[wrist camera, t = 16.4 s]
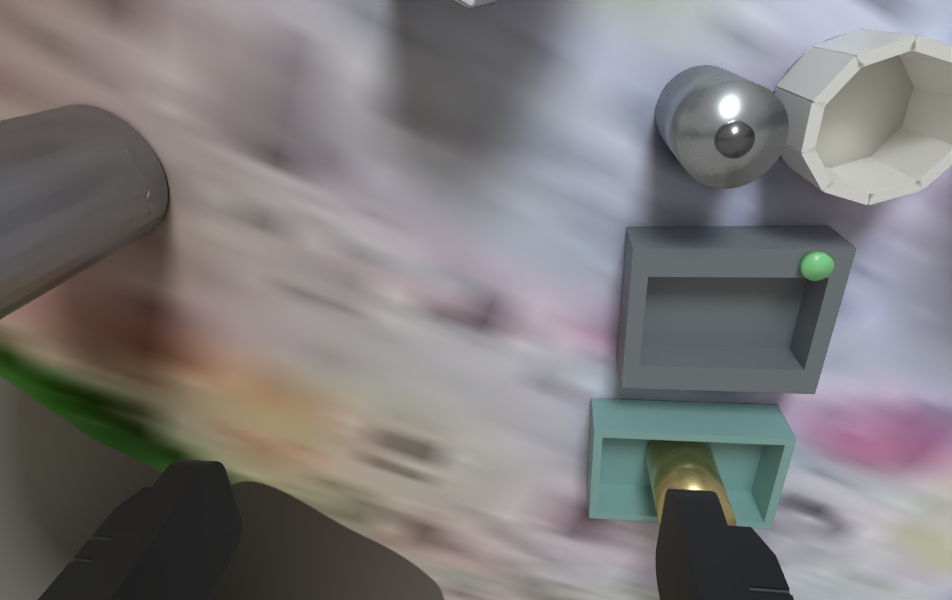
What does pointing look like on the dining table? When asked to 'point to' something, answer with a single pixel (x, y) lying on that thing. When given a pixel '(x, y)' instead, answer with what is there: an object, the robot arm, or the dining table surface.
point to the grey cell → (721, 126)
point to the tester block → (729, 307)
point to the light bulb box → (475, 3)
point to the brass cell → (684, 472)
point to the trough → (721, 424)
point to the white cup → (870, 114)
